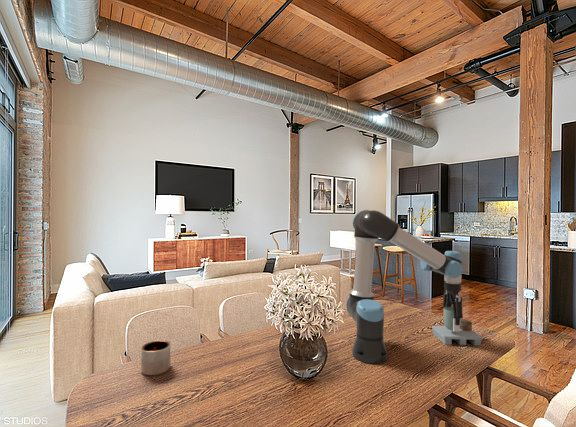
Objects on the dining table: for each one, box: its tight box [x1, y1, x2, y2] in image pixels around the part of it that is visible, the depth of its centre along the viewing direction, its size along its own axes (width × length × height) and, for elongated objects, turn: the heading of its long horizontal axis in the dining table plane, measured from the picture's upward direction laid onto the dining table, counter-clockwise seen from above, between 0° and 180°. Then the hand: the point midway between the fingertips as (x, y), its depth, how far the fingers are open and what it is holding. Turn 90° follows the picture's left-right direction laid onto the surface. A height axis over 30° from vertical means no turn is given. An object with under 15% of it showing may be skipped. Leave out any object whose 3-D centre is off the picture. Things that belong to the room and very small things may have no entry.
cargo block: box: [460, 318, 473, 331], centre depth 160 cm, size 4×4×4 cm
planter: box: [140, 339, 171, 377], centre depth 125 cm, size 11×11×10 cm
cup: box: [442, 306, 462, 330], centre depth 155 cm, size 8×8×10 cm
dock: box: [431, 325, 483, 346], centre depth 157 cm, size 18×14×4 cm
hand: (451, 327), depth 155 cm, fingers closed on cup, 8 cm apart
